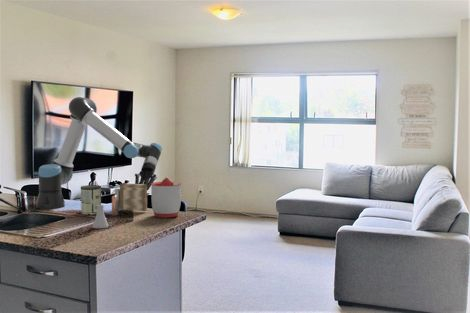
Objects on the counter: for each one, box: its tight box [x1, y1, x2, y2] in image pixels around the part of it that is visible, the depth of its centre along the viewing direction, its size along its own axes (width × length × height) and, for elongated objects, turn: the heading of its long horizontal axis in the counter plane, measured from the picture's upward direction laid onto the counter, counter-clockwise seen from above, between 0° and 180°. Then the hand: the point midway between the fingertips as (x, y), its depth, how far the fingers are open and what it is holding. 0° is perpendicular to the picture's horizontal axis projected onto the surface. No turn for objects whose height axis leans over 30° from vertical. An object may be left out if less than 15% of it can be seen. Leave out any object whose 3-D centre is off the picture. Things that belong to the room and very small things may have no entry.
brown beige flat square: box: [119, 182, 148, 212], centre depth 247 cm, size 15×2×14 cm, turn 76°
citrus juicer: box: [150, 177, 183, 219], centre depth 237 cm, size 16×17×20 cm
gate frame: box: [111, 188, 121, 217], centre depth 243 cm, size 15×3×12 cm, turn 6°
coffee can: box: [80, 184, 102, 215], centre depth 242 cm, size 10×10×14 cm
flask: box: [92, 204, 109, 229], centre depth 210 cm, size 7×7×10 cm
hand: (137, 199), depth 248 cm, fingers closed
